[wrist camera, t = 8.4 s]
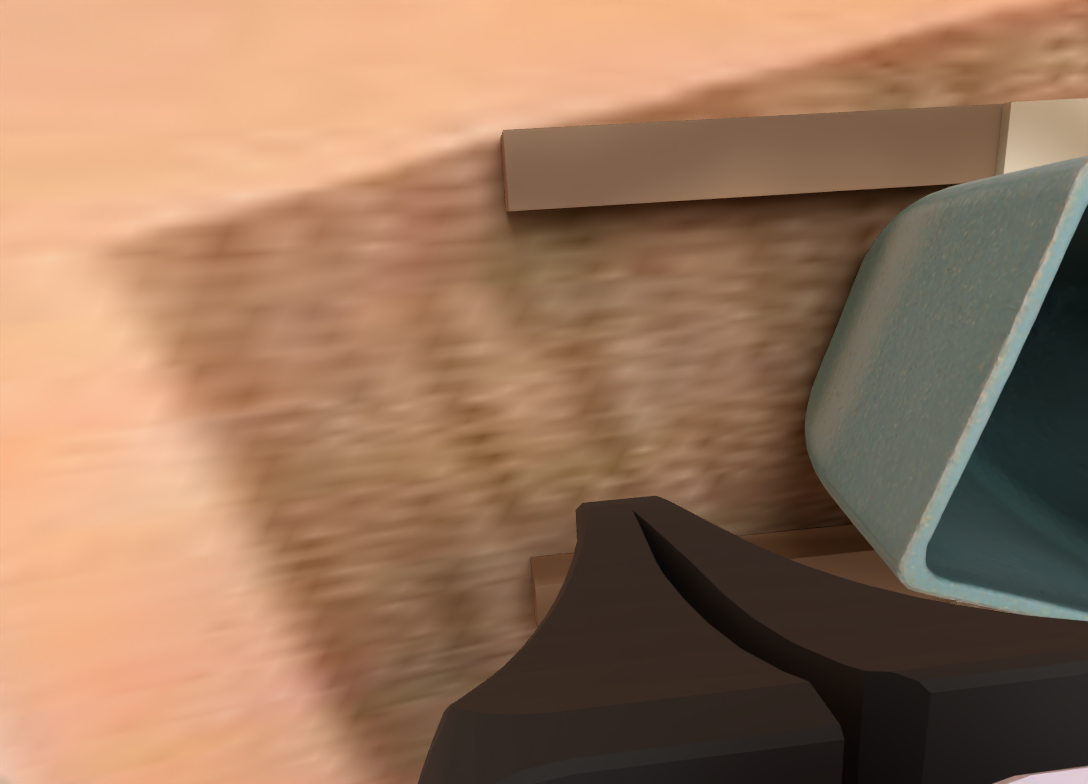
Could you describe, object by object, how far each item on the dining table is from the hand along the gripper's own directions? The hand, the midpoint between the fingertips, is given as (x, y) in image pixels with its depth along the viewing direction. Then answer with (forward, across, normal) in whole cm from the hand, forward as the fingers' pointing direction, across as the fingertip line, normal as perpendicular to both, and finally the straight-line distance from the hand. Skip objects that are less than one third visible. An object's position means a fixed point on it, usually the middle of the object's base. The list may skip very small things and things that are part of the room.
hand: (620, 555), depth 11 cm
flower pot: (+11, -11, 0) cm, 16 cm away
